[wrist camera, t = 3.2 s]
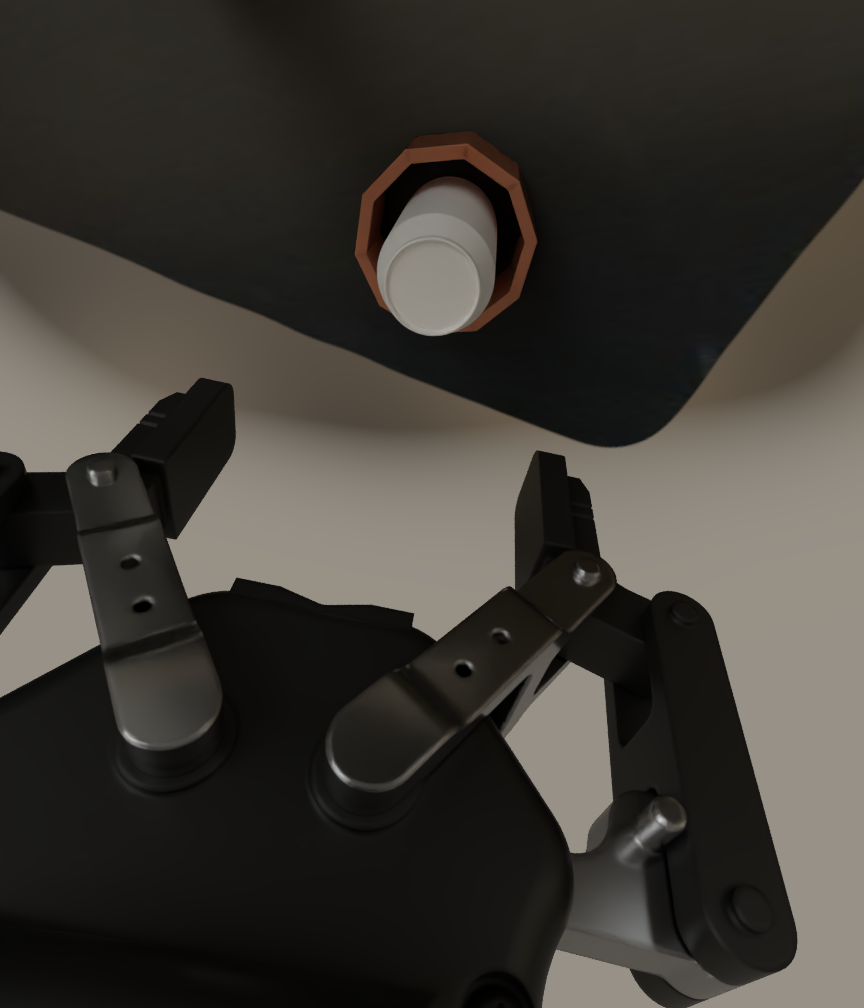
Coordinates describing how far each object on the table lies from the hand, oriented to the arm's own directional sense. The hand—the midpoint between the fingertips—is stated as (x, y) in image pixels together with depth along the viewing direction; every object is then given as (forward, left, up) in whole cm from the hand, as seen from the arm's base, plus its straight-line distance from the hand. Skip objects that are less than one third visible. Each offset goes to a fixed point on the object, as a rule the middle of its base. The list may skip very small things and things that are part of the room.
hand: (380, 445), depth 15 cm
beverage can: (0, -2, -28) cm, 29 cm away
